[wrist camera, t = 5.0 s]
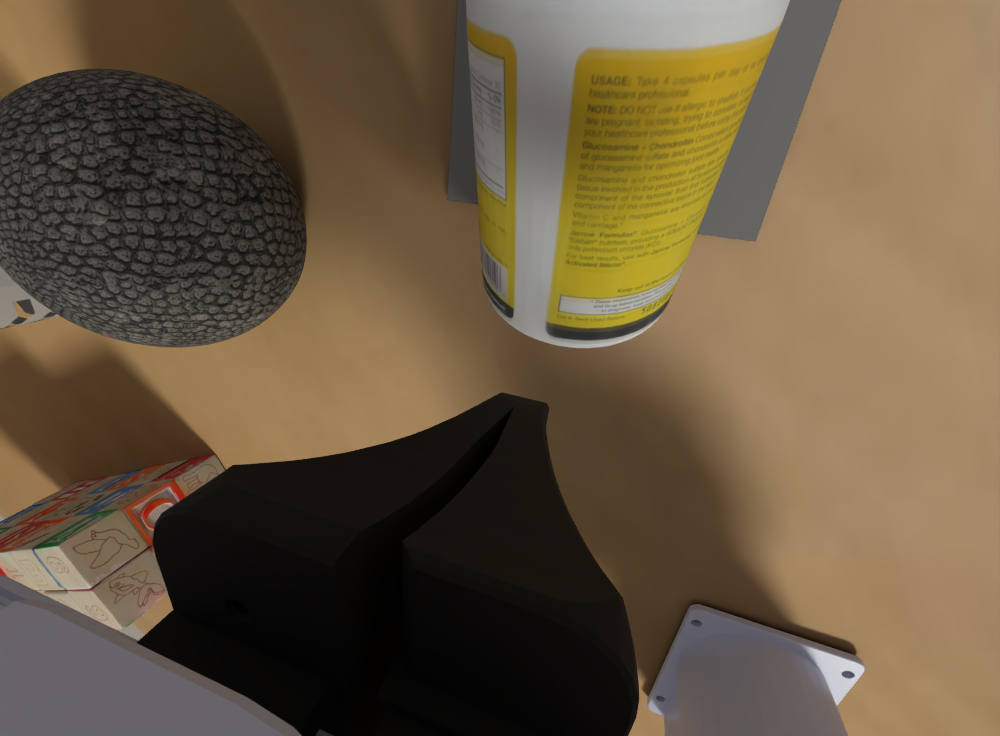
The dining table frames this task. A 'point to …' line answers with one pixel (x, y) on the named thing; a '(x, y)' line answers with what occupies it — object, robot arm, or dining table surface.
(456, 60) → the mat
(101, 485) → the stack of blocks
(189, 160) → the decorative ball
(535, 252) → the pill bottle
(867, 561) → the dining table surface
